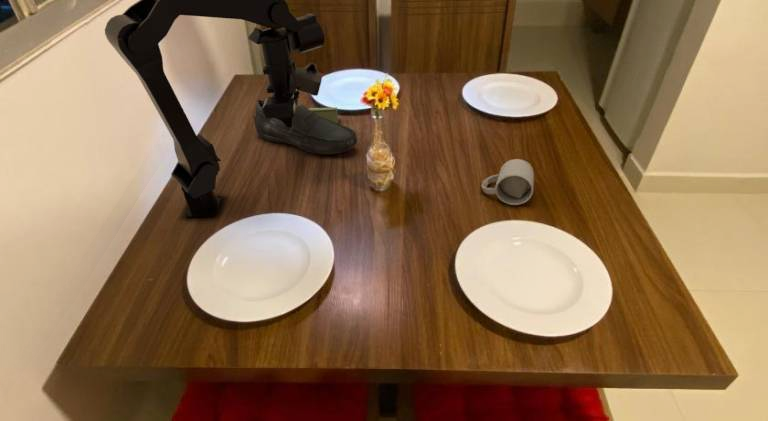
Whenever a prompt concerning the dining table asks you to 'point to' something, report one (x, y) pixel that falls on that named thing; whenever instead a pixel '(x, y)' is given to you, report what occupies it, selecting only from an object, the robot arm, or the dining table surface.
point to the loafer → (306, 131)
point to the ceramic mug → (512, 182)
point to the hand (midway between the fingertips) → (289, 126)
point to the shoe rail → (327, 113)
